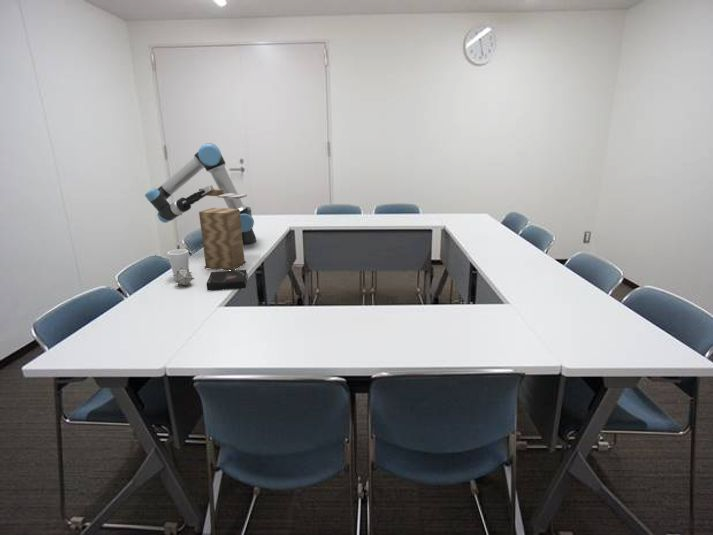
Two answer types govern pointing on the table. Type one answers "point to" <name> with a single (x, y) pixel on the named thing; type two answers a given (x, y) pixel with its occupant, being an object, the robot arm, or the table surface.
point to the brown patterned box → (222, 238)
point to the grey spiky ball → (183, 277)
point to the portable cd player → (227, 280)
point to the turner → (221, 194)
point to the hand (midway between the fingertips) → (211, 187)
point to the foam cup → (179, 260)
